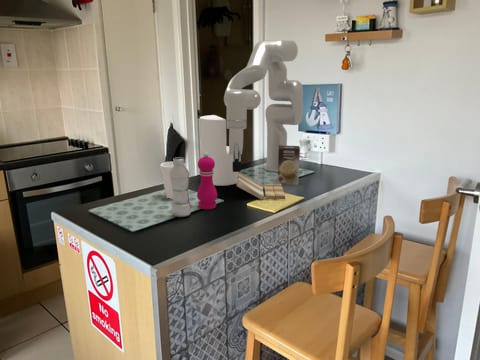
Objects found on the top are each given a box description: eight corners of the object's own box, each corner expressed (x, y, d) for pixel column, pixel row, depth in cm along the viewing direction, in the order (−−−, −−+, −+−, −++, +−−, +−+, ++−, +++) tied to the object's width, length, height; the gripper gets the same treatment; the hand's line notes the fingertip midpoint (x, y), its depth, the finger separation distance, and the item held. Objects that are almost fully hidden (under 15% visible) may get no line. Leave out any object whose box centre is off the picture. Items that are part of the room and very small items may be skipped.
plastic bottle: (183, 220, 132) (180, 161, 127) (167, 216, 136) (164, 159, 130) (195, 214, 137) (193, 157, 132) (180, 211, 141) (177, 155, 135)
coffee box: (277, 185, 171) (277, 148, 166) (277, 181, 177) (277, 145, 173) (298, 185, 170) (300, 148, 166) (298, 181, 176) (299, 145, 172)
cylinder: (207, 187, 168) (205, 120, 161) (197, 177, 184) (195, 115, 176) (246, 183, 174) (246, 118, 166) (233, 173, 189) (233, 114, 182)
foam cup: (190, 197, 155) (189, 165, 152) (167, 201, 151) (165, 168, 147) (180, 191, 163) (179, 160, 159) (159, 195, 158) (156, 163, 155)
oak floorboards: (263, 188, 167) (264, 184, 166) (281, 188, 167) (281, 184, 166) (265, 200, 152) (265, 196, 151) (284, 200, 151) (285, 196, 151)
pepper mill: (202, 211, 140) (200, 155, 135) (194, 205, 147) (192, 151, 141) (220, 208, 144) (219, 153, 138) (212, 202, 150) (211, 149, 144)
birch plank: (237, 174, 165) (239, 171, 165) (260, 187, 167) (262, 184, 166) (236, 185, 150) (238, 182, 150) (261, 199, 151) (263, 196, 151)
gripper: (227, 121, 159) (227, 167, 164) (225, 126, 145) (226, 176, 149) (246, 121, 159) (246, 167, 164) (246, 126, 144) (246, 176, 149)
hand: (236, 171), depth 156 cm, fingers closed
